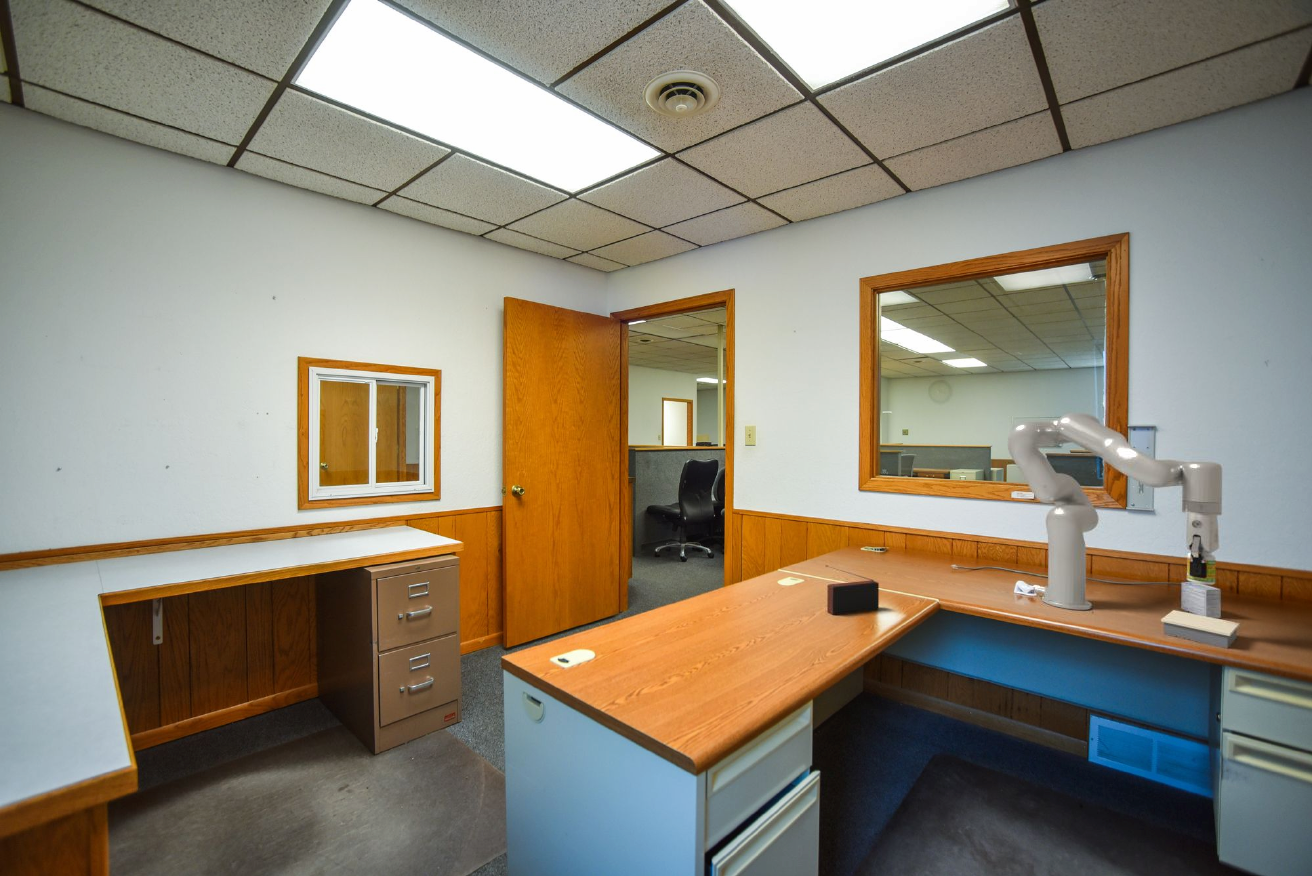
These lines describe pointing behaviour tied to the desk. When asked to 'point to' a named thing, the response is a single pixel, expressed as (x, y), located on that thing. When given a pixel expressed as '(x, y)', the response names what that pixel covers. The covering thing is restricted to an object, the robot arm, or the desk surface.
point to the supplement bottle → (1210, 570)
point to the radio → (852, 596)
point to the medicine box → (1201, 599)
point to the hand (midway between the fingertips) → (1200, 574)
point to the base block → (1200, 628)
